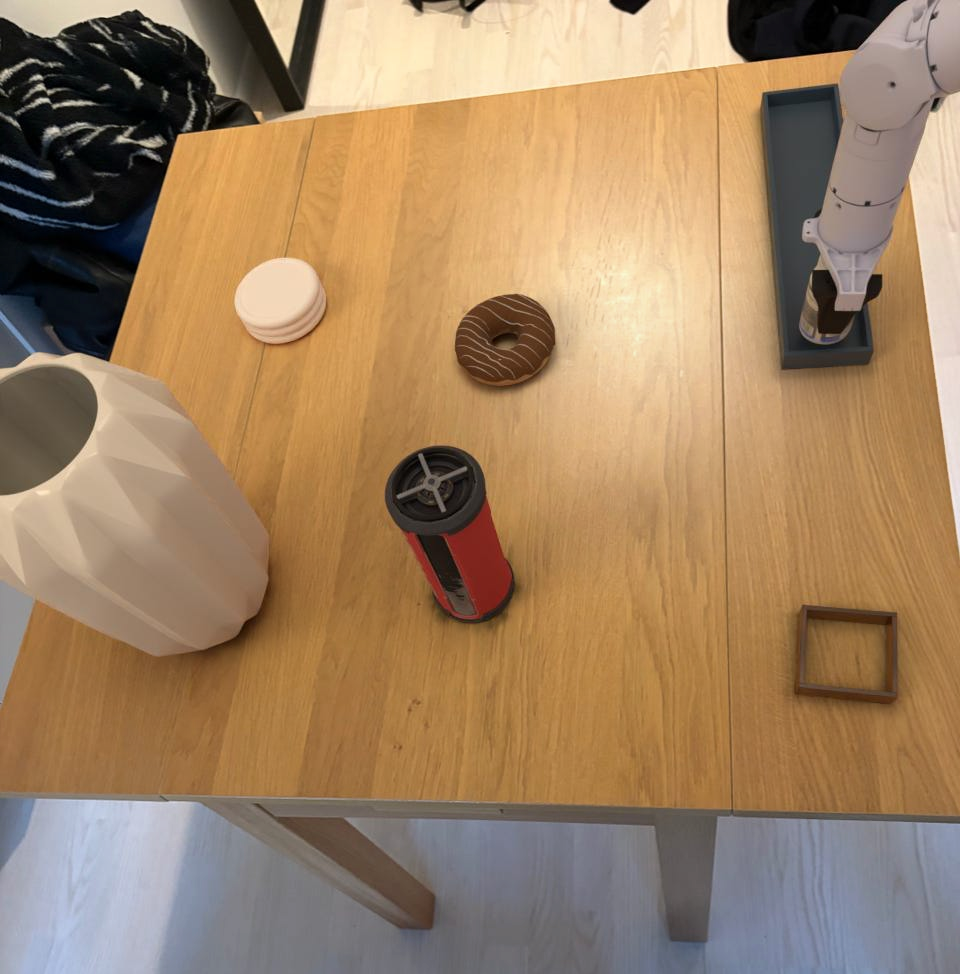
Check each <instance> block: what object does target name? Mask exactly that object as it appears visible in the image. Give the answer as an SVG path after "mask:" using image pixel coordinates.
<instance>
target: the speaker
mask: <svg viewBox="0 0 960 974" xmlns="http://www.w3.org/2000/svg"><path fill="white" fill-rule="evenodd" d="M389 474H390V475H389V476H388V479H387V481H386V483H385V488H384V502H385V506H386V509H387V511H388V513H389V516H390V517H391V519H392V521H393V522H394V523H395V525H396V526H397V527H398V528H399V529H400V531H401V533H402V535H403V537H404V540H406V542H407V544H408V546H409V549H410V551H411V552H412V554H413V557H414V558H415V560H416V562H417V563H418V565H419V568H420V569H421V572H422V574H423V575H424V577H425V579H426V581H427V583H428V584H429V587H430V588H431V591H432V596H433V598H434V601H435V602H436V604H437V606H438V607H439V609H440V610H441V611H442V612H443V613H444V614H445V615H446V616H447V617H449V618H451V619H452V620H455V621H458V622H462V623H480V622H483V621H486V620H489V619H491V618H493V617H495V616H496V615H498V614H500V612H501V611H503V610H504V608H505V607H506V606H507V605H508V604H509V602H510V601H511V598H512V597H513V593H514V590H515V583H516V580H515V573H514V571H513V568H512V566H511V564H510V562H509V561H508V560H507V558H505V556H504V552H503V549H502V546H501V543H500V539H499V535H498V533H497V529H496V527H495V523H494V520H493V516H492V510H491V506H490V503H489V500H488V497H487V494H488V493H487V492H488V491H487V488H486V478H485V474H484V471H483V469H482V466H481V465H480V463H479V461H478V460H477V459H476V458H475V457H474V456H472V454H471V453H469V452H467V451H466V450H463V449H461V448H460V447H457V446H451V445H445V444H444V445H443V444H441V445H431V446H428V447H423V448H421V449H418V450H416V451H413V452H412V453H410V454H408V455H407V456H405V457H404V458H403V459H402V460H400V462H399V463H397V465H396V466H395V467H394V468H393V470H391V473H389Z"/></svg>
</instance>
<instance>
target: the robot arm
mask: <svg viewBox="0 0 960 974" xmlns="http://www.w3.org/2000/svg"><path fill="white" fill-rule="evenodd" d="M838 87H839V94H840V101H841V105H842V107H843V109H844V110H845V115H844V117H843V125H842V129H841V133H840V137H839V141H838V146H837V150H836V154H835V158H834V162H833V166H832V170H831V174H830V179H829V183H828V187H827V191H826V196H825V200H824V204H823V208H822V209H820V210H818V211H817V212H816V213H815V216H814V219H807V220H805V222H804V225H803V231H802V239H803V241H805V242H812V243H815V244H816V245H817V247H818V249H819V251H820V254H821V255H822V257H823V259H824V261H825V263H826V265H827V268H828V270H813V272H812V286H811V288H812V294H813V297H814V298H815V300H816V302H817V305H818V320H817V328H818V333H819V334H841V333H842V332H843V331H844V329H845V328H846V327H847V325H848V324H849V322H850V321H851V320H852V318H853V317H854V315H855V314H856V313H857V312H858V311H860V310H861V308H862V307H863V306H864V305H865V304H866V303H868V304H869V303H870V302H871V301H873V300H875V299H877V298H878V296H879V295H880V293H881V291H882V289H883V274H882V273H874V272H875V270H876V268H877V266H878V264H879V263H880V260H881V258H882V256H883V254H884V253H885V251H886V249H887V247H888V245H889V243H890V241H891V238H892V235H893V232H894V222H895V219H896V215H897V213H898V210H899V208H900V207H899V206H900V204H901V201H902V198H903V195H904V192H905V189H906V187H907V183H908V180H909V177H910V174H911V172H912V168H913V165H914V162H915V160H916V156H917V154H918V151H919V148H920V145H921V141H922V140H923V136H924V133H925V130H926V124H927V121H928V118H929V116H930V113H931V110H932V107H933V104H934V101H935V99H937V98H943V97H947V96H950V95H954V94H956V93H960V0H905V1H903V2H902V3H900V4H899V5H897V6H896V7H895V8H894V9H893V10H892V11H891V12H890V13H889V15H887V16H886V17H885V19H883V21H882V22H881V23H880V24H879V26H877V27H876V28H875V29H874V31H873V32H872V33H871V34H870V35H869V36H868V37H867V39H865V41H864V42H863V43H862V44H861V45H860V46H859V47H858V48H857V49H856V50H855V51H854V53H853V54H852V55H851V57H850V58H849V60H848V61H847V63H846V64H845V66H844V67H843V69H842V72H841V75H840V78H839V84H838Z"/></svg>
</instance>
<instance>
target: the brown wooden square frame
mask: <svg viewBox="0 0 960 974" xmlns="http://www.w3.org/2000/svg"><path fill="white" fill-rule="evenodd" d="M797 617H798V618H797V641H796V663H795V664H796V665H795V668H796V669H795V685H794V687H795V691H794V694H795V695H800V696H809V697H810V696H811V697H819V698H820V697H821V698H829V699H838V700H848V701H858V702H867V703H875V704H885V705H892V704H893V703H894V702H895V701H896V700H897V699H898V698H899V691H898V690H899V687H898V680H899V679H898V675H899V673H898V672H899V671H898V670H899V669H898V665H899V664H898V612H896V611H884V610H872V609H860V608H859V609H858V608H846V607H836V606H835V607H834V606H821V605H812V604H811V605H810V604H802V605H801V607H800V610H799V611H798V615H797ZM807 619H815V620H827V621H839V622H849V623H862V624H873V625H885V652H886V653H885V691H884V690H883V691H882V690H874V689H872V690H871V689H863V688H853V687H842V686H833V685H823V684H816V683H815V684H814V683H805V678H806V677H805V676H806V675H805V674H806V668H805V667H806V648H807V647H806V646H807V622H808V621H807Z"/></svg>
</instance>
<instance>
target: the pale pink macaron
mask: <svg viewBox="0 0 960 974" xmlns="http://www.w3.org/2000/svg"><path fill="white" fill-rule="evenodd" d="M234 293H235V294H234V302H233V303H234V308H235V312H236V314H237V316H238V318H239V319H240V321H241V322H242V324H243V326H244V327H245V329H246V331H247V332H248V333H249V334H250V335H251V336H252V337H253V338H254V339H256V340H258V341H260V342H263V343H266V344H271V345H272V344H273V345H278V344H279V345H280V344H286V343H290V342H293V341H296V340H298V339H300V338H302V337H304V336H306V335H307V334H308V333H309V332H311V331H313V329H314V328H315V327H316V326H317V325H318V324H319V322H321V320H322V318H323V317H324V314H325V312H326V308H327V294H326V291H325V288H324V287H323V284H322V281H321V279H320V278H319V275H318V273H317V271H316V269H314V267H313V266H312V265H311V264H310V263H308V262H307V261H305V260H302V259H299V258H296V257H277V258H273V259H269V260H267V261H264V262H261V263H260V264H258V265H256V266H255V267H254V268H252V269H251V270H250V271H249V272H248V273H246V274H245V276H244V277H243V278H242V279H241V280H240V283H239V284H238V286H237V288H236V291H235V292H234Z"/></svg>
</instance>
